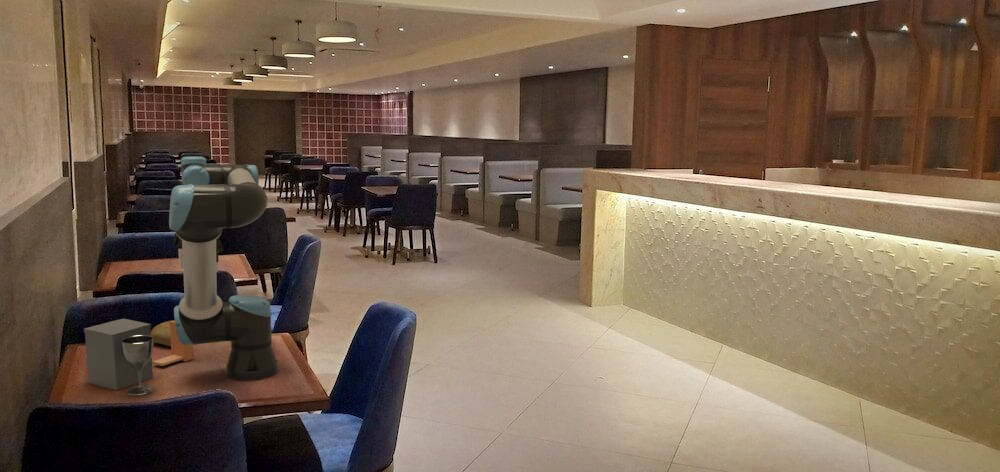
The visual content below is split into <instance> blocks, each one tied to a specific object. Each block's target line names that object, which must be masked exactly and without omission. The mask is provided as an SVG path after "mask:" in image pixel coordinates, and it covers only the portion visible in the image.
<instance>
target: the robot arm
mask: <svg viewBox="0 0 1000 472" xmlns="http://www.w3.org/2000/svg"><path fill="white" fill-rule="evenodd" d="M180 172H181V185H175V186H174V187H173V188H172V190H171V194H170V201H169V215H168V226H169V229H170V231H174V232H175V233H174V236H173V240H172V243H171V245H172V247H176V248H177V257H178V264H179V265H178V266H179V267H178V268H179V269H182V271H183V287H184V288H183V290H184V293H183V294H184V296H183V297H182V298H181V300H180V301H179V304H178V305H176V306H174V308H173V316H174V317H173V318H174V320H175V325H176V331H177V336H178V339H179V341H180V343H181V344H184V345H193V346H197V345H204V344H214V343H224V342H230V348H231V349H230V351H229V357H228V361H227V363H226V366H225V375H226V376H227V377H228V378H230V379H231V380H232V379H233V380H238V381H239V380H240V381H254V380H261V379H266V378H269V377H272V376H274V375H276V374H277V373H278V372H279V361H278V360H277V358H276V355H275V351H274V349H273V345H272V342H273V341H272V340H273V339H272V313H271V303H270V301H269V300H268V299H266V298H265V297H262V296H257V295H251V294H250V295H249V294H236V295H231V296H230V297H229V299H228V301H225V302H224V301H223V300H222V299H221V297H220V296H219V295H217V293H218V291H217V289H218V287H217V286H218V285H217V283H218V282H217V273H218V272H219V269H218V268H219V265H218V263H219V261H220V260H219V253H220V252H222V251H224V245H223V244H222V242H221V239H220V236H221V235H222V232H223V229H235V228H237V229H238V228H241V227H244V226H247V225H249V224H251V223H253V222H255V221H256V220H258V219H259V218H260V217H261V216H262V215H263V214H264V212H265V211H266V209H267V206H268V195H267V193H266V191H265V190H264V188H263V187H262V186H261V185H259V182H260V181H259V179H260V178H259V169H258V166H256V165H255V164H226V165H224V164H208V165H207V159H206V157H204V156H183V157H182V158H181V159H180Z"/></svg>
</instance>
